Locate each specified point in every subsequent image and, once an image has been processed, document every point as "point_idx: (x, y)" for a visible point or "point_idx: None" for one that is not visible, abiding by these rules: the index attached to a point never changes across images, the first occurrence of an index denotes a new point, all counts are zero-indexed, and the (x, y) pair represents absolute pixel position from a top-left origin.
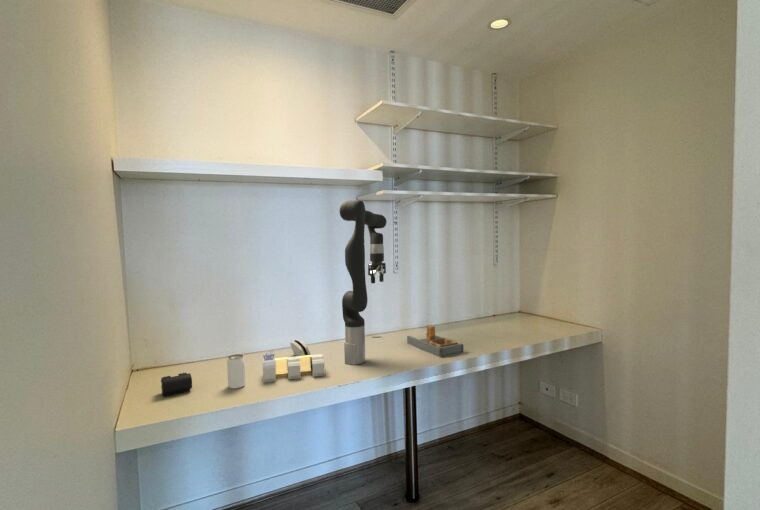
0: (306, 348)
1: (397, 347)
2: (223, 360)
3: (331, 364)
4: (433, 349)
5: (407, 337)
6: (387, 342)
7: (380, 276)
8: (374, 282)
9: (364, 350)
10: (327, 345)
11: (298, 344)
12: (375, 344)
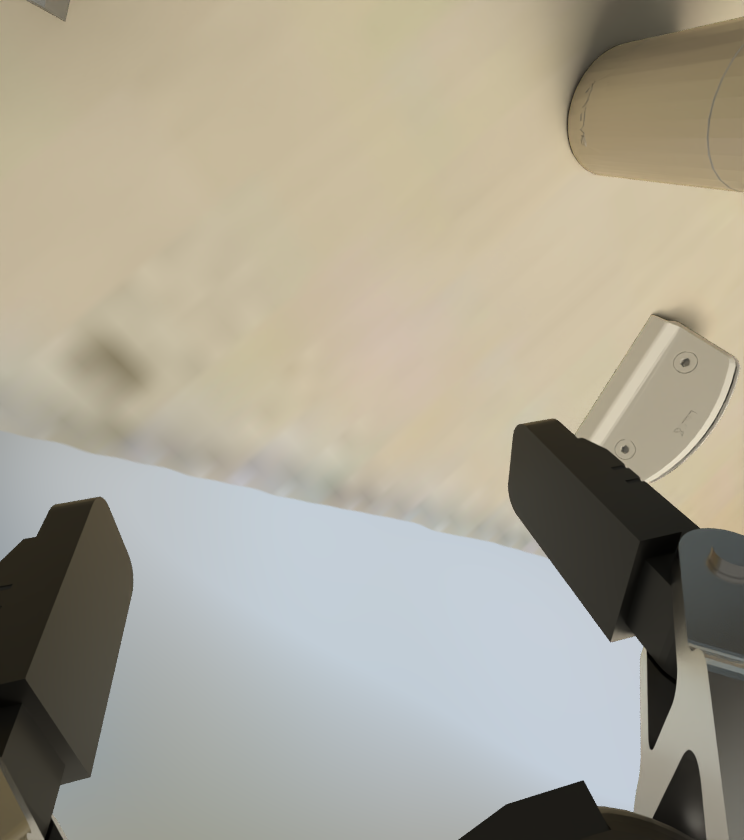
0: (726, 354)
1: (227, 34)
2: None
3: (685, 203)
4: None
5: (49, 5)
6: (169, 204)
7: (85, 692)
8: (557, 422)
9: (671, 33)
10: (432, 452)
11: (727, 404)
12: (267, 248)
